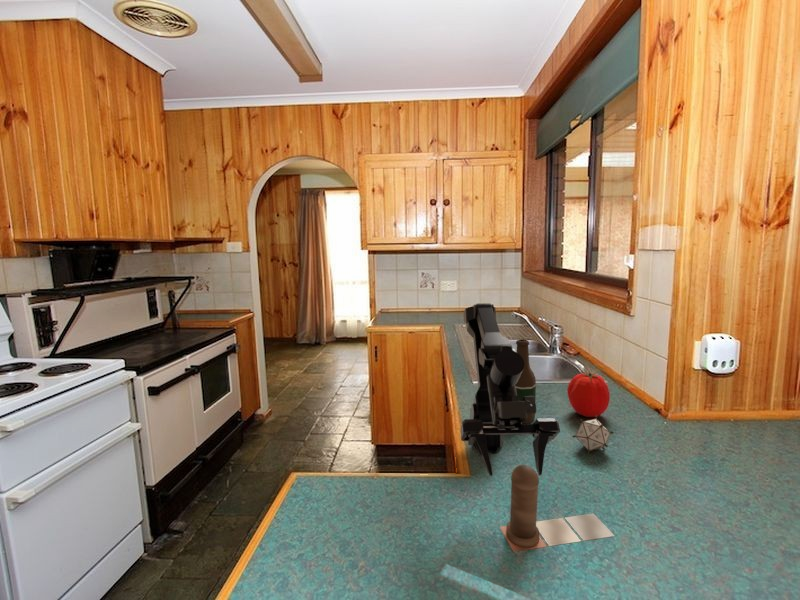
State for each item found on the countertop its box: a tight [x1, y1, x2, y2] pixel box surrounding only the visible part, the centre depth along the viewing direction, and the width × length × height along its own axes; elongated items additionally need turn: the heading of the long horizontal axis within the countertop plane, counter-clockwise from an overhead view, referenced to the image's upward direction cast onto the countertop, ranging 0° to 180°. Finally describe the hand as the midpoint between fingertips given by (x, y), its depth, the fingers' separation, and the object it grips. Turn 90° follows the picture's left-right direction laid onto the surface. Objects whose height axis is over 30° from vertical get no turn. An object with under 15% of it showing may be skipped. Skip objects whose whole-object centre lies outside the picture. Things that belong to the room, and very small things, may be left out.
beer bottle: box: [515, 338, 537, 424], centre depth 118 cm, size 8×8×24 cm
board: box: [499, 513, 615, 553], centre depth 72 cm, size 21×10×1 cm, turn 99°
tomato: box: [566, 371, 611, 418], centre depth 120 cm, size 12×12×13 cm
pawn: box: [506, 464, 540, 548], centre depth 70 cm, size 6×6×13 cm
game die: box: [571, 416, 615, 455], centre depth 101 cm, size 9×8×10 cm
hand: (515, 475), depth 75 cm, fingers open, 9 cm apart
